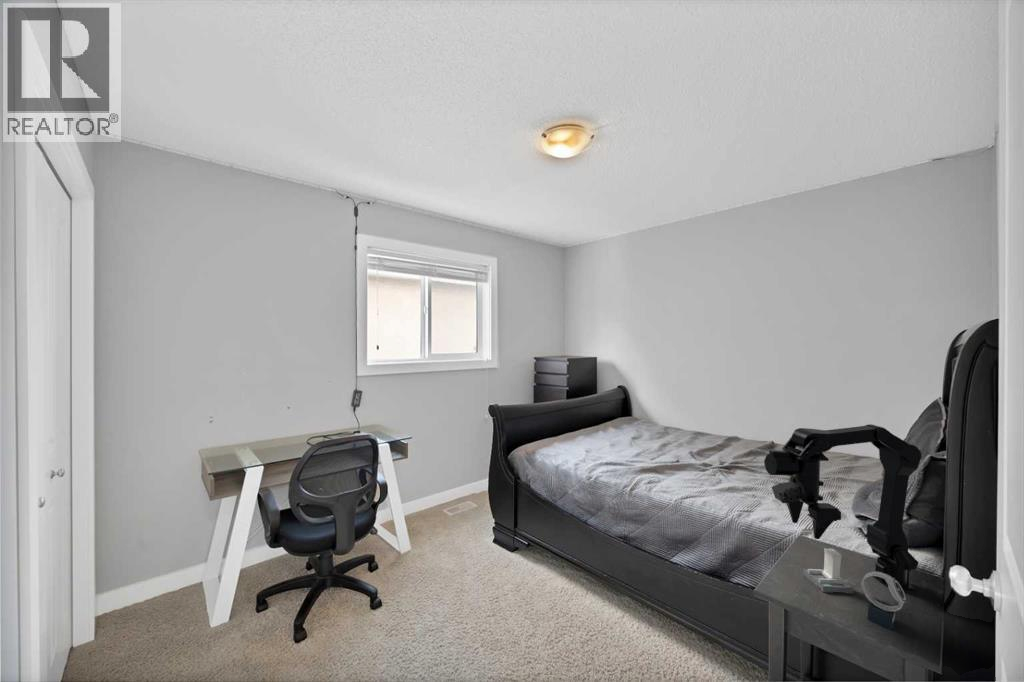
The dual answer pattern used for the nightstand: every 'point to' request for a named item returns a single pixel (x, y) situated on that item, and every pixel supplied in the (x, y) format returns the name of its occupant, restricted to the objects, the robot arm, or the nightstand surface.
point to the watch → (879, 609)
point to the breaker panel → (827, 582)
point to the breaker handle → (832, 564)
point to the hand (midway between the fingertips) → (805, 530)
